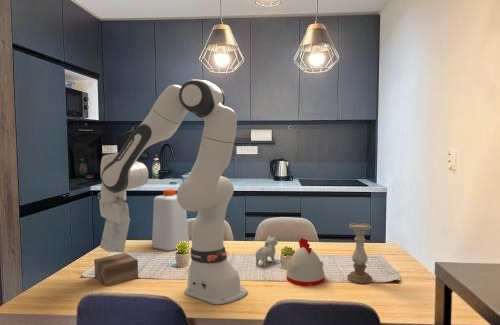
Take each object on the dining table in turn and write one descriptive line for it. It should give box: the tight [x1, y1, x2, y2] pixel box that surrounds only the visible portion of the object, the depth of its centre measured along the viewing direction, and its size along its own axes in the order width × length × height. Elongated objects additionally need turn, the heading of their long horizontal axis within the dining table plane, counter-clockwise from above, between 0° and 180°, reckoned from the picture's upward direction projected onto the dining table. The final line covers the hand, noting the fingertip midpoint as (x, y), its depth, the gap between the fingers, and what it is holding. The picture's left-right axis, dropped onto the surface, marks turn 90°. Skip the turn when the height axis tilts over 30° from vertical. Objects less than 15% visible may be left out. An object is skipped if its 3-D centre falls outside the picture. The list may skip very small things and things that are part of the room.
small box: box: [99, 217, 131, 253], centre depth 139 cm, size 8×6×13 cm
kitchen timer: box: [286, 237, 325, 287], centre depth 136 cm, size 14×14×15 cm
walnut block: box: [93, 252, 139, 287], centre depth 139 cm, size 12×12×7 cm
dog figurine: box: [255, 235, 279, 268], centre depth 155 cm, size 5×13×11 cm, turn 144°
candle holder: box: [347, 222, 373, 285], centre depth 134 cm, size 9×9×20 cm
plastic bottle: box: [151, 188, 190, 252], centre depth 180 cm, size 15×15×28 cm
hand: (114, 232), depth 139 cm, fingers closed on small box, 8 cm apart
